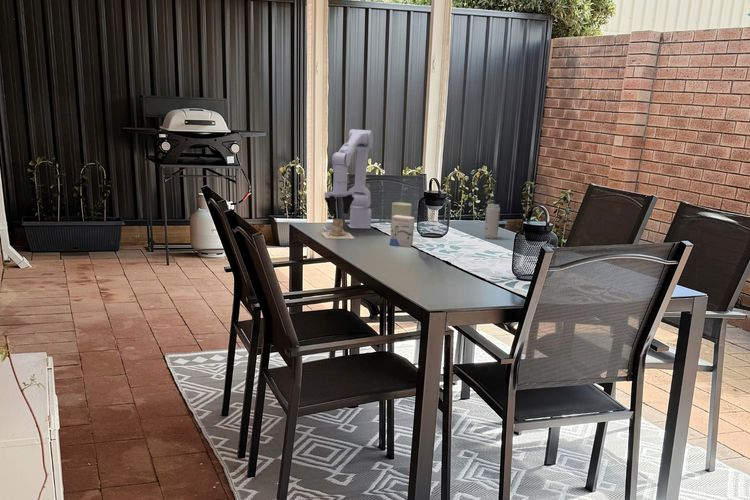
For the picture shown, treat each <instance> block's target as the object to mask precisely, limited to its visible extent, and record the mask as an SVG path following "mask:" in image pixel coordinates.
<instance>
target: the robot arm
mask: <svg viewBox="0 0 750 500" xmlns="http://www.w3.org/2000/svg"><path fill="white" fill-rule="evenodd" d="M373 144H374V134H373V131H372V130H371V129H369V130H367V129H354V128H351V129H350V130H349V131H348V141H347V142H345V143H343V144H342V146H341V147H340V148H339V150H338V152H337V151H336V152H334V153H333V155H332V157H331V164H332V170H333V182H332V184H333V185H332V191H327V192H324V200H325V202H326V205H327V209H328V213H329V215H332V216H334V215H335V210H336V209H335V208H336V207H335V206H336V203H337V198H340V197H342V204H343V207H342V208H343V214H346V215H347V214H350V215H349V224H347V226H348V227H349V228H350V229H372V209H371V208H369V207H370V206H371V200H372V198H371V191H370V190H369V189H368V187H367V186H366V178H367V169H368V159H369V157H368V156H369V151H370V150H372V149H373ZM356 151H357V153H356V154H357V155H356V166H355V176H354V186H352V187H351V188H349V189H348V169H349V168H348V167H349V166H350V164H351V161H352V157H353V155H354V154H355V152H356ZM347 189H348V190H347ZM349 211H350V213H349Z"/></svg>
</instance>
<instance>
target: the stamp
mask: <svg viewBox="0 0 750 500" xmlns="http://www.w3.org/2000/svg"><path fill="white" fill-rule="evenodd" d="M343 224H344V220H343V219H340V218H334V219H332V227H333V230H332V231H329V235H333V236H336V237H337V236H346V233H347V231H343V230H344V229H343V228H344V225H343Z"/></svg>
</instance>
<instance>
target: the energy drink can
mask: <svg viewBox="0 0 750 500" xmlns="http://www.w3.org/2000/svg"><path fill="white" fill-rule="evenodd" d="M500 213H501V207H500V204H496V203H488V204H487V207H486V208H485V219H484V229H483V231H484V232H483V236H484V239H487V238H489V239H488V240H496V239H497V238H498V235H499V225H500V224H499V223H500V216H501V215H500ZM495 238H496V239H495Z"/></svg>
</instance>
